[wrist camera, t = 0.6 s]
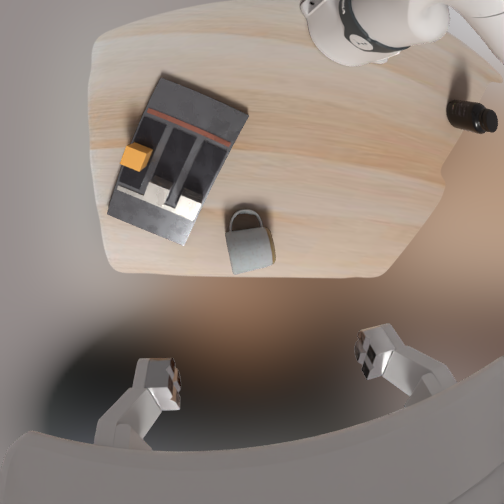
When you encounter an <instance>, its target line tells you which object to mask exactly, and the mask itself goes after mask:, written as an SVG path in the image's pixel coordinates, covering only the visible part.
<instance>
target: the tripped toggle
mask: <svg viewBox="0 0 504 504" xmlns="http://www.w3.org/2000/svg"><path fill="white" fill-rule="evenodd" d="M152 151H153V149H151V148H148V147H146V146H143V145H141V144H138V143H135V142H134V143H132V144H130V145H127V146H126V149H125V151H124V154H123V157H122V159H121V162H120V164H121V165H124V166H126V167H129V168H131V169H134V170H136V171H139V172H140V171H141V170H142V169H143V168H145V167H146V166H147V163H148V161H149V158H150V156H151V154H152Z"/></svg>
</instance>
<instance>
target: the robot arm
mask: <svg viewBox="0 0 504 504" xmlns="http://www.w3.org/2000/svg"><path fill="white" fill-rule="evenodd" d="M310 2H311V3H313V5H311V4H310ZM448 6H450V7H452V8H453V9H454V10H455V11H457V12H458V13H459V14H460V15H461V16H462V17H463V18H464V19H465V20H466V21H467V22H468V23H469V24H470V26H471V27H472V28H473V29H474V30H475V31H476V33H477V34H478V35H479V36H480V37H481V39H482V40H483V41H484V42H485V43H486V45H487V46H488V47H489V49H490V50H491V51H492V53H493V54H494V55H495V56H496V57H497V58H498V59H499V60H500V61H501V62H502V63H503V64H504V0H305V1H304V2H303V3H302V4H301V5H300V8H301V11H302V12H303V14H304V15H305V17H306V18H307V22H308V28H309V33H310V35H311V38H312V40H313V42H314V43H315V45H316V46H317V48H318V49H319V50H320V51H321V52H322V53H323V54H324V55H325V56H327V57H328V58H330V59H331V60H333V61H335V62H337V63H339V64H342V65H346V66H361V65H365V64H368V63H377V64H383V63H386V62H387V60H388V57H391V56H394V55H397V54H399V53H400V51H402V50H404V49H407V48H409V47H410V46H412V45H418V44H424V43H432V42H435V41H437V40H439V39H440V38H442V37H443V36H444V35H445V33H446V32H447V30H448V28H449V24H450V14H449V9H448ZM357 337H358V339H359V340H358V341H357V342H356V344H355V348H354V350H355V356H356V359H357V361H358V362H359V363H361V364H362V365H363V366H362V371H363V373H364V375H365V377H366V380H368V379H372V378H375V377H379V376H383V377H384V378H386V379H387V380H388V381H390V382H391V383H393V384H394V385H395V386H397V387H398V388H399V389H401V390H402V391H403V392H405V393H406V394H408V395H409V396H410V397H409V399H408V400H407V402H406V403H405V405H404V407H405V408H403V409H401V410H398V411H396V412H394V413H391V414H388V415H385V416H382V417H380V418H377V419H374V420H371V421H368V422H365V423H362V424H359V425H355V426H353V427H349V428H345V429H342V430H338V431H334V432H331V433H327V434H323V435H319V436H314V437H310V438H305V439H300V440H296V441H290V442H285V443H279V444H273V445H266V446H259V447H251V448H242V449H232V450H217V451H195V452H194V451H193V452H169V451H168V452H167V451H152V449H151V447H150V446H149V445H148V444H147V443H146V442H145V441H144V440H143V438H144V436H145V435H146V433H147V432H148V430H149V429H150V428H151V426H152V425H153V423H154V422H155V420H156V419H157V418H158V416H159V414H160V413H161V412H162V411H161V410H180V396H179V393H178V392H179V391H180V389H181V379H180V374H179V371H178V369H177V368H175V362H174V359H173V358H145V359H139V360H138V362H137V367H136V372H135V377H134V382H133V387H132V388H129V389H128V390H127V391H126V392H125V393H124V394H123V395H122V396H121V397H120V398H119V399H118V401H117V402H116V403H115V404H114V405H113V406H112V407H111V408H110V409H109V410H108V411H107V412H106V413H105V414H104V415H103V416H102V417H101V418H100V419H99V420H98V424H97V429H96V434H95V439H94V444H88V443H82V442H77V441H72V440H67V439H63V438H59V437H55V436H50V435H47V434H43V433H40V432H36V431H29V432H26V433H25V434H23V435H22V436H21V437H20V438H19V439H17V440H16V441H15V442H14V443H13V444H12V445H11V446H10V447H9V448H8V450H7V452H6V454H5V457H4V459H3V462H2V466H1V470H0V504H504V356H502V357H500V358H498V359H497V360H495V361H493V362H492V363H490V364H489V365H487V366H486V367H484V368H482V369H481V370H479V371H478V372H476V373H474V374H472V375H471V376H469V377H467V378H466V379H464V380H462V381H460V382H458V383H457V381H456V380H455V378H454V376H453V375H452V373H451V372H450V370H449V369H448V367H447V366H446V365H445V364H443V363H441V362H439V361H437V360H435V359H433V358H431V357H429V356H427V355H425V354H423V353H421V352H419V351H418V350H416V349H414V348H412V347H410V346H405V345H404V343H403V342H402V340H401V339H400V337H399V336H398V334H397V333H396V331H395V330H394V329H393V327H392V326H391V324H389V323H387V324H383V325H380V326H375V327H371V328H367V329H363V330H360V331H359V332H358V336H357Z"/></svg>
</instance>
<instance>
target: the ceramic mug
mask: <svg viewBox="0 0 504 504" xmlns="http://www.w3.org/2000/svg"><path fill="white" fill-rule="evenodd" d="M238 214H249V215H250V214H253V215H255V216H256V217H257V218H258V220H259V223H260V227H259V228H251V229H246V230H238V231H232V223H233V220H234V218H235V217H236V216H237V215H238ZM229 230H230V231H229V232H226V233H225V236H226V242H227V247H228V252H229V257H230V262H231V266H232V271H233V274H235V275H236V274H240V273H244V272H248V271H252V270H256V269H260V268H264V267H268V266H270V265H272V264H274V262H275V260H276V254H275V247H274V242H273V238H272V235H271V232H270V230H269V229H267V228H264V227H263V224H262V220H261V218H260V216H259V215H258V214H257V213H256V212H255V211H253V210H249V209H243V210H239V211H237V212H236V213H235V214H234V215H233V216H232V218H231V221H230V227H229Z"/></svg>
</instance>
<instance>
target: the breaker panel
mask: <svg viewBox="0 0 504 504" xmlns="http://www.w3.org/2000/svg"><path fill="white" fill-rule="evenodd" d="M248 117H249V115H247V114H245V113H243V112H241V111H238V110H236V109H234V108H232V107H230V106H228V105H226V104H224V103H221V102H219V101H217V100H215V99H212V98H210V97H208V96H206V95H203V94H201V93H199V92H196V91H194V90H191V89H189V88H186V87H184V86H181V85H179V84H176V83H174V82H171V81H168V80H166V79H163V78H160V80H159V82H158V84H157V86H156V88H155V90H154V92H153V94H152V96H151V98H150V100H149V103H148V105H147V107H146V109H145V111H144V113H143V116H142V118H141V120H140V122H139V125H138V127H137V130H136V132H135V134H134V137H133V139H132V142H131V144H132V143H134V142H135V143H138V144H141V145H143V146H146V147H148V148H151V149H153V151H152V154H151V156H150V158H149V161H148V163H147V166H146V167H145V168H143V169H142V170H141V171H140V172H139V171H136V170H134V169H131V168H129V167H126V166H124V165H122V168H121V171H120V174H119V177H118V180H117V183H116V186H115V189H114V192H113V195H112V198H111V202H110V205H109V209H108V212H107V214H108V215H110V216H112V217H115V218H117V219H120V220H122V221H124V222H127V223H129V224H132V225H134V226H136V227H139V228H141V229H144V230H146V231H149V232H151V233H154V234H156V235H158V236H161V237H163V238H166V239H168V240H171V241H173V242H176V243H178V244H181V245H183V246H184V245H185V243H186V240H187V238H188V236H189V234H190V232H191V230H192V227H193V225H194V223H195V221H196V219H197V217H198V214H199V212H200V210H201V208H202V206H203V204H204V202H205V200H206V198H207V196H208V194H209V192H210V190H211V187H212V185H213V183H214V181H215V179H216V177H217V175H218V173H219V171H220V170H221V168H222V166H223V164H224V162H225V160H226V158H227V156H228V154H229V152H230V150H231V148H232V146H233V144H234V143H235V141H236V139H237V137H238V135H239V133H240V131H241V130H242V128H243V126H244V124H245V122H246V121H247V119H248Z"/></svg>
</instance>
